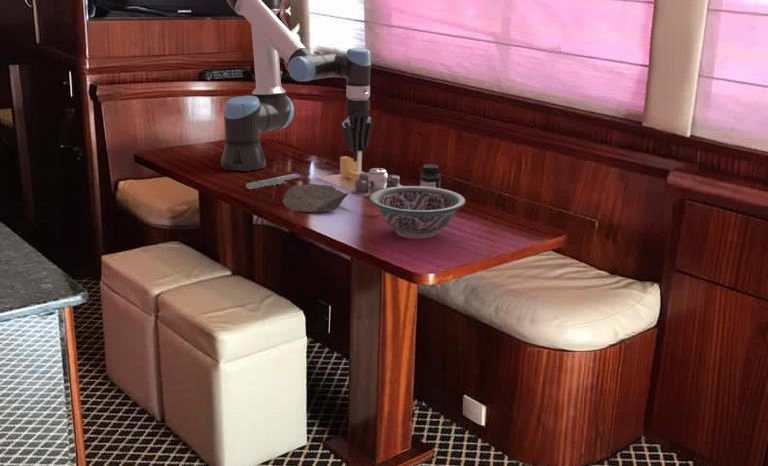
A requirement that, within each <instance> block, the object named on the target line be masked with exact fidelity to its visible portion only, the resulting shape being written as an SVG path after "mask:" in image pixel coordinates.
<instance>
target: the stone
mask: <svg viewBox="0 0 768 466" xmlns="http://www.w3.org/2000/svg"><path fill="white" fill-rule="evenodd" d="M348 194H349V193H348V192H343V191H341V190H340V189H337V188H336V187H334V186H332V185H327V184H318V183H309V184H305V185H298V186H297V185H296V186H291V187H289V188H288V190H286V192H285V193H284V196H283V199H282V203H283V205H284V207H285V206H287V207H289V208H291V209H294V210H297V211H296V212H298V211H301V212H300V213H302V212H308V213H310V212H314V213H315V212H326V211H335V210H336V209H338V208H339V207H340V205H341V204H342V203H343V201H344V199H346V197H347V196H348Z"/></svg>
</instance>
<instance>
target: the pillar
mask: <svg viewBox="0 0 768 466" xmlns="http://www.w3.org/2000/svg"><path fill="white" fill-rule="evenodd" d="M297 178H301V175H300V174H299V173H292V174H286V175H281V176H277V177H272V178H267V179H266V178H265V179H262V180H257V181H252V182H251V181H250V182H247V183H246V184H245V187H246V188H248V189H254V188H259V187H264V186H270V185H274V186H277V185H276V184H279V185H283V184H282V183H284V184H287V183H288V182H287V181H288V180H294V179H297ZM270 187H271V186H270ZM248 189H247V190H248Z"/></svg>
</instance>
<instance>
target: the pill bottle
mask: <svg viewBox="0 0 768 466" xmlns="http://www.w3.org/2000/svg"><path fill="white" fill-rule="evenodd" d="M439 169H440V167H439V165H437V164H423V166H422V173H421V174H420V177H419V186H425V187H434V188H441V180H442V176H441V174H440V173H439Z"/></svg>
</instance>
